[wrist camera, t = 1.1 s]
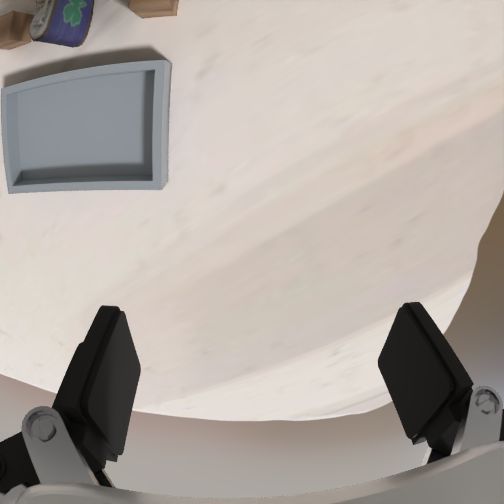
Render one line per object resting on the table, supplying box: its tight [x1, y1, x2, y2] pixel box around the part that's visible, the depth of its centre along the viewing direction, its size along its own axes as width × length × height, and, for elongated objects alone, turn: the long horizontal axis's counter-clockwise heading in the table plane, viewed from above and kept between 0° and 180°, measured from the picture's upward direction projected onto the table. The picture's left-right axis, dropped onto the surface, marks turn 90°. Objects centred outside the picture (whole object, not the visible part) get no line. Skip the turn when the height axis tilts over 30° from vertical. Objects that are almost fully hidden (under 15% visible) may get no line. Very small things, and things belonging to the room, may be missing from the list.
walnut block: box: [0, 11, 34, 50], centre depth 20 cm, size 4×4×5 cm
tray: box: [1, 60, 172, 194], centre depth 29 cm, size 14×22×4 cm, turn 85°
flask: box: [29, 0, 94, 47], centre depth 18 cm, size 9×3×11 cm, turn 172°
